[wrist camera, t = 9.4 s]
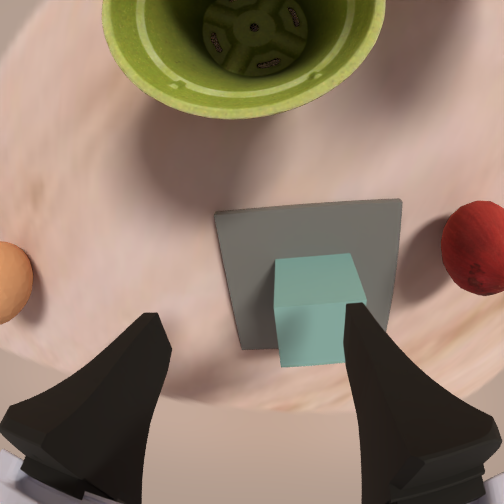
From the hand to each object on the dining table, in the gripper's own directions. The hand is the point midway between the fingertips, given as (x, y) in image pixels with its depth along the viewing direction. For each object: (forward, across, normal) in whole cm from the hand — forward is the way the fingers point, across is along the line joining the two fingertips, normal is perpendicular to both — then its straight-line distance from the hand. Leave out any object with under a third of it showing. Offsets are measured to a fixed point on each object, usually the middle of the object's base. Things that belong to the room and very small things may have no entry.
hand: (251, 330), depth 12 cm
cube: (+9, -3, +5) cm, 11 cm away
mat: (+10, -3, +5) cm, 11 cm away
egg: (+10, +23, +1) cm, 25 cm away
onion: (+10, -14, +1) cm, 17 cm away
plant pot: (+10, -1, -12) cm, 16 cm away
